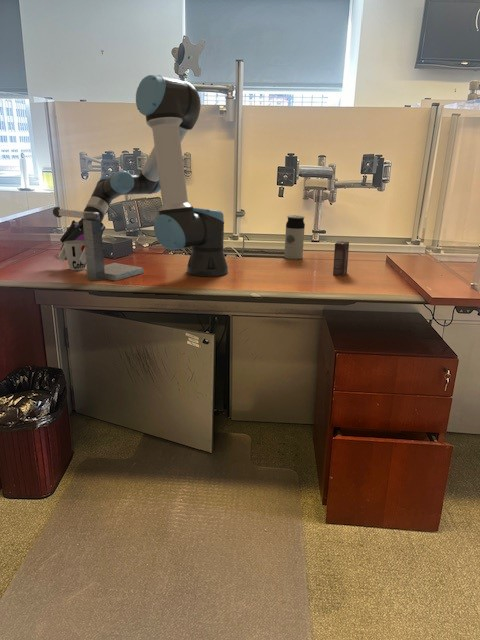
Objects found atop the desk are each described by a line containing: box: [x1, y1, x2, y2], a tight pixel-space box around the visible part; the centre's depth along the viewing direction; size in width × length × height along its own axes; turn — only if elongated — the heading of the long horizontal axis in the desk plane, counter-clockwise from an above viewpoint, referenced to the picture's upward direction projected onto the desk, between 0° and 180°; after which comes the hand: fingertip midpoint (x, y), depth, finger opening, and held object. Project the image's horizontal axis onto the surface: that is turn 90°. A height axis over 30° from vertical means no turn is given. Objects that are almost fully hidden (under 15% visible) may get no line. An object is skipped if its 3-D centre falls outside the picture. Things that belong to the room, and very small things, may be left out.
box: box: [332, 240, 350, 277], centre depth 173 cm, size 6×4×12 cm
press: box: [83, 219, 144, 282], centre depth 161 cm, size 14×18×20 cm
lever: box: [52, 206, 100, 220], centre depth 155 cm, size 20×5×4 cm, turn 60°
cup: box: [64, 240, 87, 271], centre depth 170 cm, size 8×8×10 cm
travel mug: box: [283, 214, 306, 261], centre depth 199 cm, size 8×8×18 cm
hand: (71, 260), depth 168 cm, fingers open, 9 cm apart
